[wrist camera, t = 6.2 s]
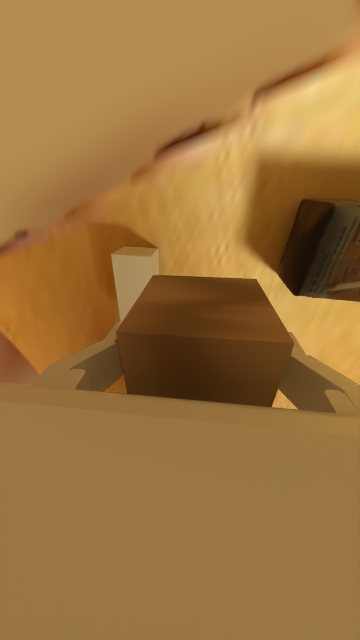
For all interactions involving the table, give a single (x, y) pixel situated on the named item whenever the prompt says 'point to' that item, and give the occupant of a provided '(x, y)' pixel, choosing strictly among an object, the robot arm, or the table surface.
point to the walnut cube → (204, 341)
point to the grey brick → (132, 274)
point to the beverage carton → (324, 251)
